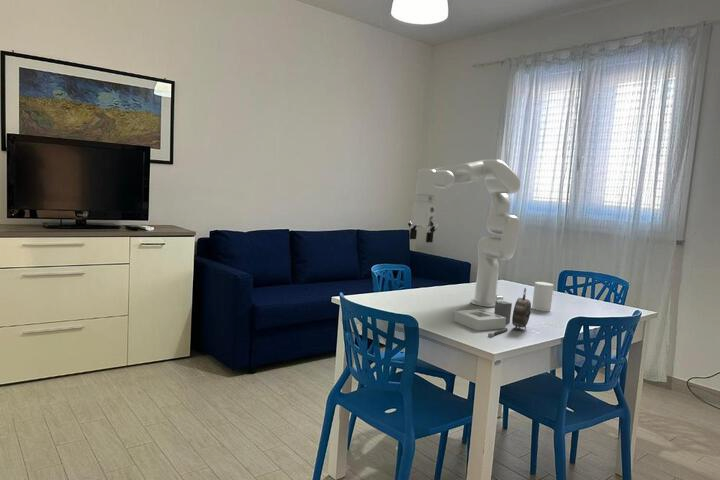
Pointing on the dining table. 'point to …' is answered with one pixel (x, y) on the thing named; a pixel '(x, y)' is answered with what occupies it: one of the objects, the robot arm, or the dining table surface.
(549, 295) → the cup
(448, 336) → the dining table surface
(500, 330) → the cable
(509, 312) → the charger
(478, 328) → the plate
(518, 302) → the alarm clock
